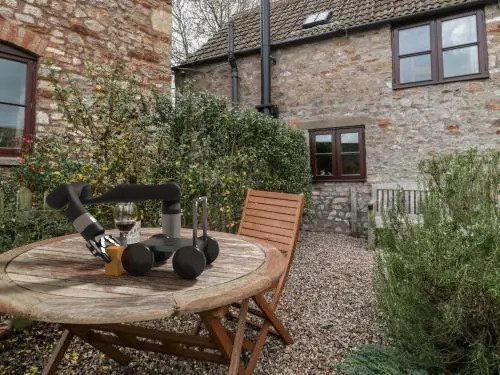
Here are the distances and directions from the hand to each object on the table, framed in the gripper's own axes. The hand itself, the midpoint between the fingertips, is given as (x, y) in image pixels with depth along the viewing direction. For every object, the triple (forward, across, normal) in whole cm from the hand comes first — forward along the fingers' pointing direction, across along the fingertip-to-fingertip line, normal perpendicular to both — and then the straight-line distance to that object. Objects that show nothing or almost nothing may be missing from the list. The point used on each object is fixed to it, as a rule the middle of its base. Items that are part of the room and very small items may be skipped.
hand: (116, 259), depth 121 cm
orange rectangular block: (+3, 0, -5) cm, 6 cm away
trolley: (+17, -10, +9) cm, 21 cm away
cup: (-2, -15, -11) cm, 18 cm away
